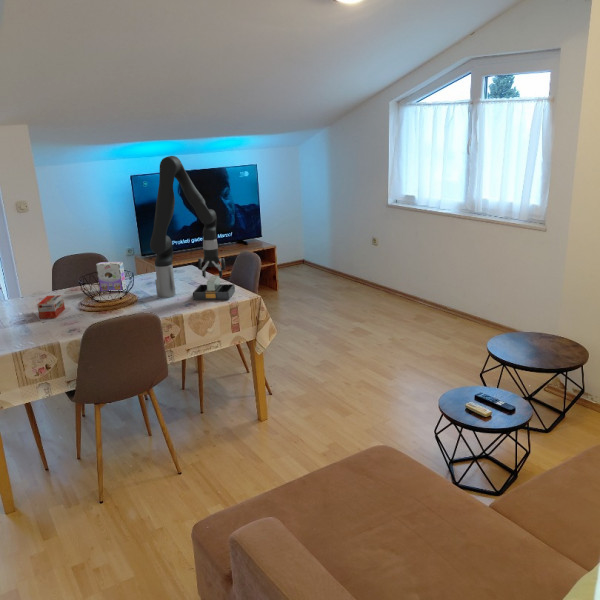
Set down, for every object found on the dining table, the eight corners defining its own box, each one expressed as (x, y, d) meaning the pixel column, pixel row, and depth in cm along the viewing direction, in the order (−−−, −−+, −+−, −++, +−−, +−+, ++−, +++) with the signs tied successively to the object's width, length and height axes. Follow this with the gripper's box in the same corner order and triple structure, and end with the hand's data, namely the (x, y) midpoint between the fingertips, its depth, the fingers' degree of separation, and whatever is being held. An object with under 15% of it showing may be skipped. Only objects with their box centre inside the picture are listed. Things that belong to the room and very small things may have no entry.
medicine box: (56, 318, 287) (53, 303, 285) (39, 319, 287) (36, 304, 284) (65, 309, 301) (63, 294, 299) (49, 310, 301) (47, 295, 299)
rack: (193, 300, 307) (192, 292, 305) (201, 291, 321) (200, 284, 320) (228, 300, 305) (228, 292, 303) (234, 291, 319) (234, 283, 318)
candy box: (126, 289, 333) (123, 261, 328) (123, 292, 327) (119, 263, 322) (103, 289, 334) (99, 261, 329) (99, 292, 329) (95, 264, 324)
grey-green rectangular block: (208, 298, 307) (206, 281, 305) (213, 291, 319) (212, 275, 316) (215, 298, 307) (214, 281, 304) (220, 291, 318) (219, 275, 316)
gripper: (195, 249, 302) (197, 279, 307) (222, 249, 301) (224, 279, 306) (199, 246, 309) (201, 275, 314) (225, 246, 308) (227, 275, 313)
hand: (212, 277), depth 310 cm, fingers open, 8 cm apart
